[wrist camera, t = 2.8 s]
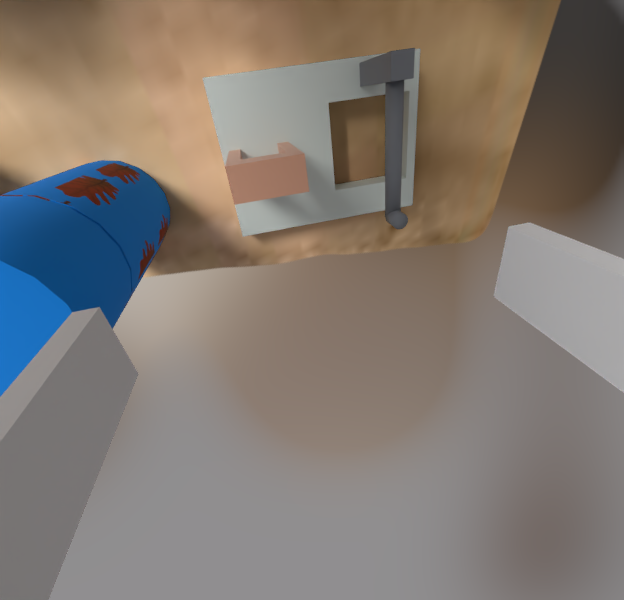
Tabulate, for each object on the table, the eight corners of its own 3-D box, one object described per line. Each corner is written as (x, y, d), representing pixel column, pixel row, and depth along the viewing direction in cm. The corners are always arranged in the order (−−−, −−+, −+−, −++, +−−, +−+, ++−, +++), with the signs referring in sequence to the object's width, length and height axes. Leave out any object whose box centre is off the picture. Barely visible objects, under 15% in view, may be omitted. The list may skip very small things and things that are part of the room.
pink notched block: (236, 180, 35) (234, 204, 26) (228, 151, 34) (225, 166, 25) (292, 170, 36) (309, 191, 27) (288, 141, 34) (304, 153, 25)
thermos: (44, 188, 35) (-254, 313, 14) (125, 138, 34) (-63, 190, 13) (120, 265, 41) (-8, 435, 20) (190, 225, 40) (135, 357, 19)
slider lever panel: (242, 228, 41) (243, 265, 31) (205, 80, 32) (190, 68, 23) (402, 199, 43) (448, 225, 34) (407, 52, 35) (471, 31, 25)
